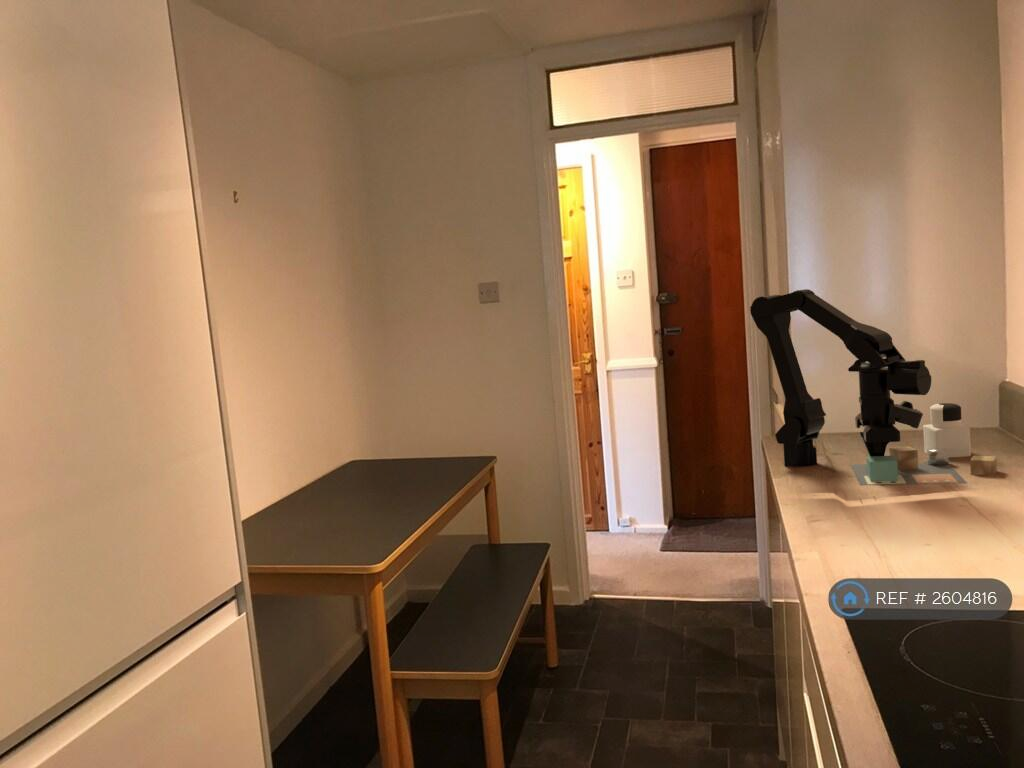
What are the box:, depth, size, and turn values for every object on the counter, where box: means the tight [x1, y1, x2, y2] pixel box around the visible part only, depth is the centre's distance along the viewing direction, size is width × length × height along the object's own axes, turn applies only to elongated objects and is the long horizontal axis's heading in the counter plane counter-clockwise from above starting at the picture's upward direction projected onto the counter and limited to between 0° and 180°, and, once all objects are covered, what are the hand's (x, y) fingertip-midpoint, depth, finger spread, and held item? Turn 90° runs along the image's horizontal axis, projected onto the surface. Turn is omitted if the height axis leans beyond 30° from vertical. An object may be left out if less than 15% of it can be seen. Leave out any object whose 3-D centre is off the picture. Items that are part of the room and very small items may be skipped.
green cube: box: [866, 455, 898, 482], centre depth 168 cm, size 5×5×4 cm
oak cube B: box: [970, 455, 998, 477], centre depth 165 cm, size 4×4×4 cm
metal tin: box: [926, 448, 950, 466], centre depth 175 cm, size 4×4×3 cm
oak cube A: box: [888, 445, 919, 471], centre depth 174 cm, size 4×4×4 cm
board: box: [850, 461, 968, 486], centre depth 170 cm, size 19×18×1 cm
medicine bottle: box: [922, 402, 972, 459], centre depth 183 cm, size 7×7×12 cm
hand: (878, 468), depth 172 cm, fingers closed
